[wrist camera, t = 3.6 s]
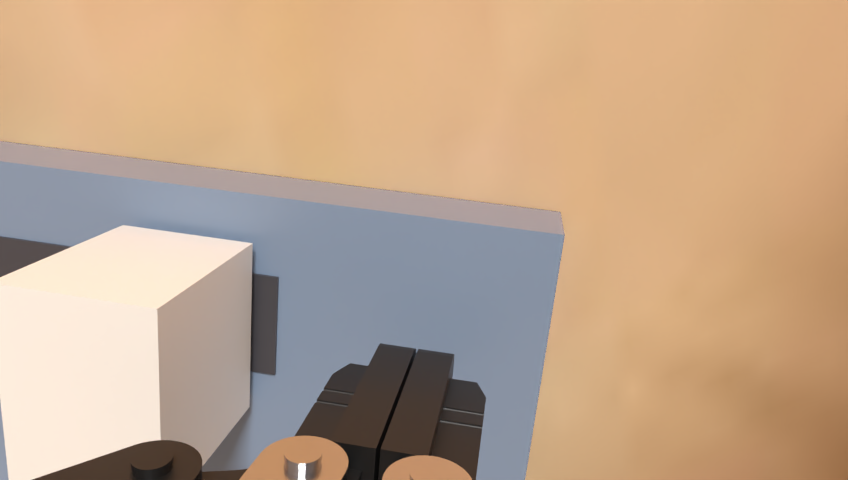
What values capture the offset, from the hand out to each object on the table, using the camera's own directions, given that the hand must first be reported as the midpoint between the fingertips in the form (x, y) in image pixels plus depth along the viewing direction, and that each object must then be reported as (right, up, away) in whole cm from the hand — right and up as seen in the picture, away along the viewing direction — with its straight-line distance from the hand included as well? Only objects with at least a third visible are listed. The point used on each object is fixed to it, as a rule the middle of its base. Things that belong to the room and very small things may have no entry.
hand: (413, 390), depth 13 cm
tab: (-5, +1, +2) cm, 6 cm away
